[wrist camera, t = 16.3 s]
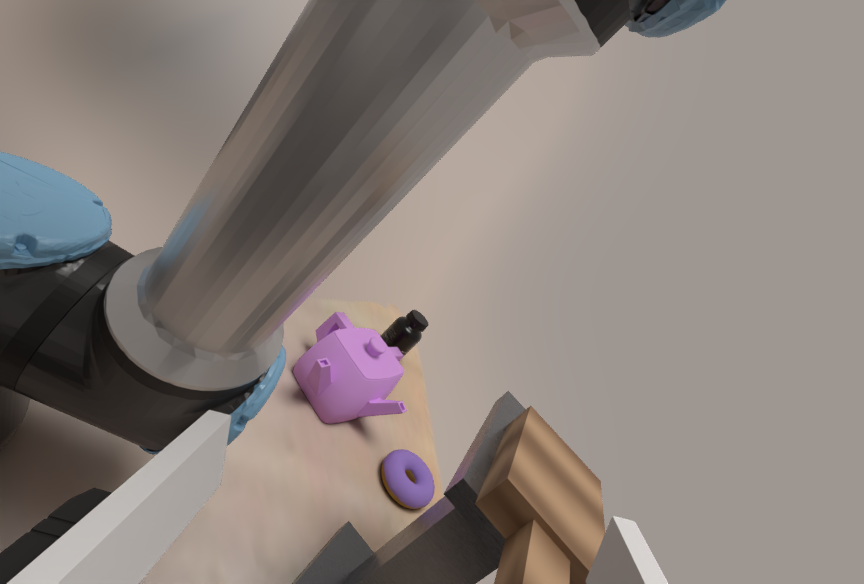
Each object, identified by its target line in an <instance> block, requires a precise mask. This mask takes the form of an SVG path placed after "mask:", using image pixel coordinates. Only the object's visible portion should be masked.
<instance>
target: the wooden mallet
mask: <svg viewBox="0 0 864 584" xmlns="http://www.w3.org/2000/svg"><path fill="white" fill-rule="evenodd" d="M475 504H476V505H477V506H478V508H479V509H480V510H481V511H482V512H483V513H484V515H485V516H486V517H487V518H488V519H489V520H490V522H491V523H492V524H493V525H494V526H495V527H496V529H497V530H498V531H499V532H500V533H501V534H502V536H503V537H504V538H505V543H504V547H503V551H502V555H501V559H500V563H499V567H498V570H497V575H496V578H495V582H494V584H586V578H587V576H588V574H589V571H590V569H591V566H592V564H593V562H594V559H595V557H596V554H597V552H598V549H599V547H600V545H601V542H602V540H603V537H604V535H605V527H604V515H603V504H602V494H601V483H600V480H599V479H598V478H597V477H596V476H595V475H594V474H593V473H592V471H591V470H590V469H589V468H588V467H587V466H586V465H585V464H584V463H583V462H582V461H581V459H580V458H579V457H578V456H577V455H576V454H575V453H574V452H573V451H572V450H571V449H570V448H569V446H568V445H567V444H566V443H565V442H564V441H563V440H562V439H561V438H560V437H559V436H558V435H557V434H556V432H554V430H553V429H552V428H551V427H550V426H549V425H548V424H547V423H546V422H545V421H544V420H543V418H542V417H541V416H540V415H539V414H538V413H537V412H536V411H535V410H534V409H533V407H532V406H530V407H529V408H527V409H526V410H525V411H524V412H522V413H521V414H520V415H519V416H518V417H516V418H515V419H514V420H513V421H512V422H510V423H509V424H508V426H507V428H506V431H505V433H504V435H503V438H502V440H501V443H500V445H499V447H498V450H497V452H496V455H495V457H494V459H493V462H492V464H491V467H490V469H489V471H488V474H487V476H486V478H485V481H484V483H483V486H482V488H481V490H480V493H479V495H478V498H477V500H476V502H475Z"/></svg>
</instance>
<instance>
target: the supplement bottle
mask: <svg viewBox="0 0 864 584" xmlns="http://www.w3.org/2000/svg"><path fill="white" fill-rule="evenodd" d="M427 326H428V322H427V320H426V319H425V317H424V316H423V315H422V314H421V313H420V312H418V311H416V310H412V311H411V312H410V313H408V314H407V315H406V317H399V318H398V319H396V320H395V321H394V322H393V324H392V325H391V326H390V327H389V328H388V329H387V330H386V331H385V332H384V333H383V334H382V335H381V336H380V337H381V338H382V339H383V341H384V342H385V343H386V345H387V346H388V347H398V349H399V350H400V352H401V353H402V354H403V356H404V355H406V354H407V353H408V352H409V351H410V350H411V349H412V348H413V347H414V346H415V345H416V344H417V343H418V342H419V341H420V339H421V332H423V331H424V329H425V328H426V327H427Z"/></svg>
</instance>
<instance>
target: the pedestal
mask: <svg viewBox="0 0 864 584" xmlns="http://www.w3.org/2000/svg"><path fill="white" fill-rule="evenodd" d="M524 411H525V408H524V407H523V406H522V405H521V404H520V403H519V402H518V401H517V400H516V399H515V398H514V396H513V395H512V394H511V393H510V392H509V391H508V392H506V393H505V394H504V395H503V396H502V397H501V398H500V399H498V400H497V401H496V402H495V404H494V406H493V407H492V409H491V411H490V413H489V415H488V416H487V418H486V420H485V422H484V424H483V425H482V427H481V429H480V430H479V432H478V434H477V436H476V438H475V439H474V441H473V443H472V445H471V446H470V448H469V450H468V452H467V453H466V455H465V457H464V459H463V461H462V462H461V464H460V466H459V468H458V469H457V471H456V473H455V475H454V477H453V479H452V480H451V482H450V484H449V486H448V487H447V489H446V491H445V492H444V495H445V496H444V497H443V498H442V499H441V500H439V501H438V502H437V503H436V504H435V505H433V506H432V507H431V508H430V509H428V510H427V511H426V512H425V513H423V514H422V515H421V516H420V517H418V518H417V519H416V520H415V521H414V522H412V523H411V524H410V525H409V526H407V527H406V528H405V529H404V530H402V531H401V532H400V533H399V534H397V535H396V536H395V537H394V538H392V539H391V540H390V541H389V542H388V543H386V544H385V545H384V546H383V547H381V548H380V549H379V550H378V551H376V552H375V553H373V551H372V550H371V549H370V547H369V546H368V545H367V544H366V542H365V541H364V540H363V539H362V537H361V536H360V535H359V533H358V532H357V531H356V530H355V528H354V527H353V526H352V525H351V523H350V522H349V521H348V522H347V523H346V524H345V525H344V526H343V527H341V528H340V529H339V530H338V531H337V532H336V534H335V535H334V536H333V537H332V538H331V539H330V541H329V542H328V543H327V544H326V545H325V546H324V547H323V549H322V550H321V551H320V552H319V553H318V554H317V555H316V557H315V558H314V559H313V560H312V561H311V562H310V563H309V565H308V566H307V567H306V568H305V569H304V570H303V572H302V573H301V574H300V575H299V576H298V577H297V578H296V580H295V581H294V582H293V583H292V584H476V583H477V582H478V581H480V580H481V579H483V578H484V577H485V576H487V575H489V574H490V573H491V572H493V571H494V570H496V569H497V568H498V567H499V563H500V559H501V555H502V551H503V547H504V543H505V538H504V537H503V536H502V534H501V533H500V532H499V531H498V530H497V529H496V527H495V526H494V525H493V524H492V523H491V522H490V520H489V519H488V518H487V517H486V516H485V515H484V513H483V512H482V511H481V510H480V509H479V508H478V506H477V505H476V504H475V502H476V500H477V498H478V495H479V493H480V490H481V488H482V486H483V483H484V481H485V478H486V476H487V474H488V471H489V469H490V467H491V464H492V462H493V459H494V457H495V455H496V452H497V450H498V447H499V445H500V443H501V440H502V438H503V435H504V433H505V431H506V428H507V426H508V424H509V423H510V422H512V421H513V420H514V419H515V418H516V417H518V416H519V415H520V414H521V413H522V412H524Z"/></svg>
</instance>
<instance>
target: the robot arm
mask: <svg viewBox="0 0 864 584" xmlns="http://www.w3.org/2000/svg"><path fill="white" fill-rule="evenodd" d="M725 1H726V0H309V1H308V3H307V5H306V6H305V8H304V10H303V11H302V13H301V15H300V16H299V18H298V20H297V21H296V23H295V25H294V26H293V28H292V30H291V31H290V33H289V35H288V37H287V38H286V40H285V42H284V43H283V45H282V47H281V48H280V50H279V52H278V53H277V55H276V57H275V59H274V60H273V62H272V63H271V65H270V67H269V69H268V70H267V72H266V74H265V75H264V77H263V79H262V80H261V82H260V84H259V85H258V87H257V89H256V90H255V92H254V94H253V96H252V97H251V99H250V101H249V102H248V104H247V106H246V107H245V109H244V111H243V113H242V114H241V116H240V117H239V119H238V121H237V123H236V124H235V126H234V128H233V129H232V131H231V133H230V134H229V136H228V138H227V139H226V141H225V143H224V144H223V146H222V148H221V150H220V151H219V153H218V154H217V156H216V158H215V160H214V161H213V163H212V165H211V166H210V168H209V170H208V171H207V173H206V175H205V177H204V178H203V180H202V182H201V183H200V185H199V187H198V188H197V190H196V192H195V193H194V195H193V197H192V198H191V200H190V202H189V203H188V205H187V207H186V209H185V210H184V212H183V214H182V215H181V217H180V219H179V220H178V222H177V224H176V225H175V227H174V229H173V230H172V232H171V234H170V235H169V237H168V239H167V240H166V242H165V244H164V245H163V247H158V248H154V249H150V250H147V251H145V252H142V253H140V254H138V255H136V256H134V255H132V254H131V253H129V252H127V251H126V250H124V249H122V248H120V247H118V245H116V244H114V243H112V242H111V241H109V237H110V236H111V234H112V231H111V230H112V229H111V225H112V222H111V221H112V220H111V215H110V213H109V211H108V210H107V208H105V207H103V203H102V201H101V200H100V199H99V198H98V197H97V196H96V195H95V194H94V193H93V192H91V191H90V190H89V189H87V188H86V187H85V186H83V185H82V184H80V183H78V182H77V181H75V180H73V179H72V178H70V177H68V176H66V175H64V174H62V173H60V172H58V171H56V170H54V169H51V168H49V167H47V166H44V165H41V164H39V163H36V162H33V161H30V160H28V159H25V158H22V157H18V156H15V155H11V154H8V153H4V152H0V450H1V449H2V448H3V447H4V446H5V445H6V444H7V442H8V441H9V440H10V439H11V437H12V436H13V434H14V433H15V431H16V430H17V428H18V426H19V425H20V423H21V422H22V420H23V418H24V416H25V414H26V412H27V409H28V405H29V401H30V398H31V399H33V400H35V401H38V402H40V403H42V404H45V405H47V406H49V407H52V408H54V409H56V410H58V411H61V412H63V413H65V414H68V415H70V416H72V417H75V418H77V419H79V420H82V421H84V422H86V423H88V424H91V425H93V426H95V427H98V428H100V429H102V430H105V431H107V432H109V433H112V434H114V435H116V436H119V437H121V438H123V439H125V440H128V441H130V442H132V443H135V444H137V445H139V446H140V447H141V448H142V449H143V450H144V451H146V452H148V453H150V454H156V456H155V457H154V458H152V459H151V460H150V461H149V462H148V463H147V464H145V465H144V466H143V467H142V468H141V469H140V470H138V471H137V472H136V473H135V474H134V475H133V476H131V477H130V478H129V479H128V480H127V481H126V482H124V483H123V484H122V485H121V486H120V487H119V488H117V489H116V490H115V491H114V492H113V493H111V492H107V491H104V490H100V489H96V488H93V489H91V490H89V491H87V492H85V493H82V494H80V495H78V496H76V497H74V498H72V499H69V500H68V501H67V502H66V503H64V504H63V505H62V506H60V507H59V508H58V509H57V510H55V511H54V512H53V513H51V514H50V515H49V517H48V518H47V519H44V520H42V521H41V522H40V523H39V524H37V525H36V526H35V527H33V528H32V529H31V531H30V532H29V533H28V532H27V533H26V534H24V535H23V536H22V537H21V538H19V539H18V540H17V541H16V542H14V543H13V544H12V545H10V546H9V547H8V548H7V549H5V550H4V551H3V552H1V553H0V584H139V583H140V582H141V581H142V579H143V578H144V577H145V576H146V575H147V573H148V572H149V571H150V570H151V569H152V567H153V566H154V565H155V564H156V563H157V561H158V560H159V559H160V558H161V556H162V555H163V554H164V553H165V552H166V550H167V549H168V548H169V547H170V546H171V544H172V543H173V542H174V541H175V539H176V538H177V537H178V536H179V535H180V533H181V532H182V531H183V530H184V529H185V527H186V526H187V525H188V524H189V522H190V521H191V520H192V519H193V518H194V516H195V515H196V514H197V513H198V512H199V510H200V509H201V508H202V507H203V506H204V504H205V503H206V502H207V501H208V499H209V498H210V497H211V496H212V495H213V493H214V492H215V491H216V490H217V489H218V487H219V486H220V485H221V479H222V473H223V466H224V460H225V453H226V447H227V446H228V445H229V444H230V443H231V442H232V441H233V440H234V439H235V438H236V437H237V436H238V435H239V434H240V433H241V432H242V431H243V430H244V428H245V425H246V423H247V421H249V420H250V419H253V418H254V417H255V416H256V415H257V413H258V412H259V411H260V410H261V408H262V407H263V406H264V404H265V403H266V401H267V400H268V398H269V397H270V395H271V393H272V392H273V390H274V388H275V386H276V384H277V382H278V380H279V378H280V376H281V374H282V372H283V369H284V366H285V361H286V351H285V349H284V347H283V345H282V342H283V336H284V327H283V322H284V321H285V320H286V319H287V318H288V317H289V316H290V315H291V314H292V313H293V312H294V311H295V310H296V309H297V308H298V307H299V306H300V305H301V304H302V303H303V302H304V301H305V299H306V298H307V297H308V296H309V295H310V294H311V293H312V292H313V291H314V290H315V289H316V288H317V287H318V286H319V285H320V284H321V282H323V281H324V280H325V279H326V278H327V277H328V276H329V275H330V273H331V272H332V271H333V270H334V269H335V268H336V267H337V266H338V265H339V264H340V263H341V262H342V261H343V260H344V259H345V258H346V257H347V256H348V255H349V254H350V253H351V252H352V251H353V249H354V248H356V246H357V245H358V244H359V243H360V242H361V241H362V240H363V239H364V238H365V237H366V236H367V235H368V234H369V233H370V232H371V231H372V230H373V229H374V228H375V227H376V226H377V225H378V224H379V223H380V222H381V221H382V219H383V218H384V217H385V216H386V215H387V214H388V213H389V212H390V211H391V210H392V209H393V208H394V207H395V206H396V205H397V204H398V203H399V202H400V201H401V200H402V199H403V198H404V197H405V195H407V193H408V192H409V191H410V190H411V189H412V188H413V187H414V186H415V185H416V184H417V183H418V182H419V181H420V180H421V179H422V178H423V177H424V176H425V175H426V174H427V173H428V172H429V171H430V170H431V168H433V166H434V165H435V164H436V163H437V162H438V161H439V160H440V159H441V158H442V157H443V156H444V155H445V154H446V153H447V152H448V151H449V150H450V149H451V148H452V147H453V146H454V145H455V144H456V143H457V142H458V140H459V139H460V138H461V137H462V136H463V135H464V134H465V133H466V132H467V131H468V130H469V129H470V128H471V127H472V126H473V125H474V124H475V123H476V121H478V119H480V118H481V117H482V116H483V114H484V113H485V112H486V111H487V110H488V109H489V108H490V107H491V106H492V105H493V104H494V103H495V102H496V101H497V100H498V99H499V98H500V97H501V96H502V95H503V94H504V93H505V92H506V91H507V90H508V88H509V87H510V86H511V85H512V84H513V83H514V82H515V81H516V80H517V79H518V78H519V77H520V76H521V75H522V74H523V73H524V72H525V71H526V70H527V69H528V68H529V66H531V64H532V63H534V62H536V61H539V60H541V59H544V58H547V57H565V56H591V55H594V54H595V53H596V52H597V51H598V50H599V49H600V47H602V46H603V45H604V44H605V43H606V42H607V41H608V40H609V39H610V38H611V37H612V36H613V35H614V34H615V33H616V32H617V31H618V30H619V29H620V28H622V27H623V26H624V25H625V26H627V27H628V28H629V31H631V32H637V33H639V34H640V35H642V36H645V37H664V36H668V35H671V34H673V33H676V32H679V31H681V30H684V29H687V28H689V27H691V26H692V25H694V24H696V23H697V22H700V21H702V20H704V19H705V18H707V17H708V16H710V15H712V14H714V13H715V12H716V11H717V10H719V9H720V8H721V6H722V5H723V4H724V3H725ZM586 584H668V582H667V580H666V578H665V577H664V575H663V573H662V571H661V569H660V567H659V565H658V564H657V562H656V560H655V558H654V556H653V554H652V553H651V551H650V549H649V547H648V545H647V543H646V541H645V539H644V538H643V536H642V534H641V532H640V530H639V529H638V527H637V525H636V523H635V521H631V520H627V519H624V518H620V517H616V516H612V518H611V520H610V523H609V525H608V528H607V530H606V533H605V535H604V537H603V540H602V542H601V545H600V547H599V549H598V552H597V554H596V557H595V559H594V562H593V564H592V566H591V569H590V571H589V574H588V576H587V578H586Z"/></svg>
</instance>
